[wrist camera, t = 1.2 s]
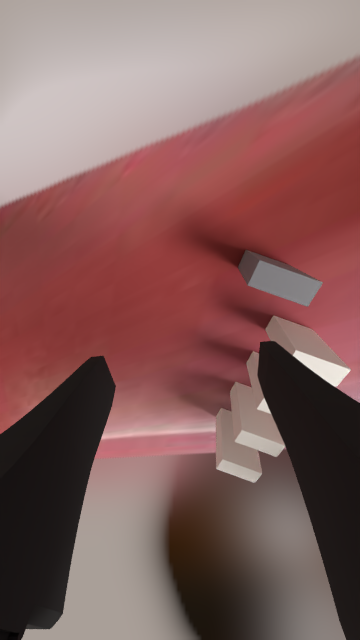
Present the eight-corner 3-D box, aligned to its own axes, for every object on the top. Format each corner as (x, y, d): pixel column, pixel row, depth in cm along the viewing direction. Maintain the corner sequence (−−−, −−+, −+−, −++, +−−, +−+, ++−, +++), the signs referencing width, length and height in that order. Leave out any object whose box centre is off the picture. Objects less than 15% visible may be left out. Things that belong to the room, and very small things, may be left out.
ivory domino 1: (252, 351, 25) (266, 394, 18) (288, 364, 24) (314, 412, 18) (246, 363, 25) (256, 408, 19) (281, 375, 25) (303, 425, 19)
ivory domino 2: (235, 381, 27) (242, 430, 20) (268, 393, 27) (285, 445, 20) (229, 391, 27) (234, 441, 21) (262, 403, 27) (276, 457, 21)
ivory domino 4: (273, 315, 22) (296, 350, 16) (312, 329, 22) (350, 369, 16) (265, 329, 23) (283, 368, 17) (303, 343, 23) (336, 386, 17)
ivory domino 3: (220, 407, 29) (222, 459, 22) (251, 418, 29) (262, 473, 22) (215, 416, 29) (216, 468, 23) (245, 427, 29) (254, 482, 23)
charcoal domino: (245, 249, 20) (259, 260, 14) (289, 265, 20) (322, 282, 14) (238, 267, 21) (247, 285, 15) (279, 282, 21) (307, 306, 15)
